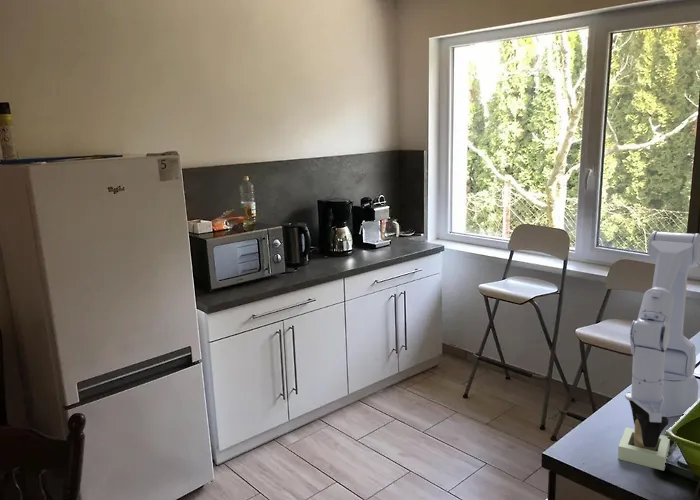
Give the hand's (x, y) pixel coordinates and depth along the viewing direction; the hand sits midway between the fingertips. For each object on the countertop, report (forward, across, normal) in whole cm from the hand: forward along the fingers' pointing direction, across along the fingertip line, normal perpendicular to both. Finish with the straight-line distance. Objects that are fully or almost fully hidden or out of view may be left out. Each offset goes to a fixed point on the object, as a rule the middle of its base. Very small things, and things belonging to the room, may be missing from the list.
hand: (644, 436), depth 119 cm
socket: (+4, 0, 0) cm, 4 cm away
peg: (+4, 0, 0) cm, 4 cm away
